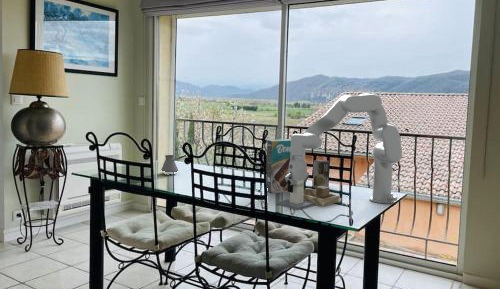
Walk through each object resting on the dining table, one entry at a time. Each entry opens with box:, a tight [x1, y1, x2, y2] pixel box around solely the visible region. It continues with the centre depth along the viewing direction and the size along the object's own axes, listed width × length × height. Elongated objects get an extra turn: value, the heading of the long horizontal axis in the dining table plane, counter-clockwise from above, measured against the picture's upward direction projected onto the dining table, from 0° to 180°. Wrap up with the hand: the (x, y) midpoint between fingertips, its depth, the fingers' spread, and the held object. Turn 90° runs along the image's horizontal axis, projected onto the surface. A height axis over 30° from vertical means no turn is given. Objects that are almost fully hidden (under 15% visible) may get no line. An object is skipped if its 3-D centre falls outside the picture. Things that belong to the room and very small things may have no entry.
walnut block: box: [315, 186, 330, 199], centre depth 234 cm, size 5×5×8 cm
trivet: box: [276, 198, 316, 211], centre depth 228 cm, size 14×14×1 cm
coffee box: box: [312, 159, 330, 189], centre depth 268 cm, size 9×6×16 cm
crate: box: [303, 187, 341, 207], centre depth 238 cm, size 22×14×4 cm, turn 42°
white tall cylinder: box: [289, 180, 304, 204], centre depth 227 cm, size 5×5×12 cm
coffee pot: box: [160, 154, 187, 173], centre depth 297 cm, size 21×12×15 cm, turn 62°
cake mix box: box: [266, 138, 291, 194], centre depth 257 cm, size 22×6×30 cm, turn 114°
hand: (296, 190), depth 227 cm, fingers open, 9 cm apart
